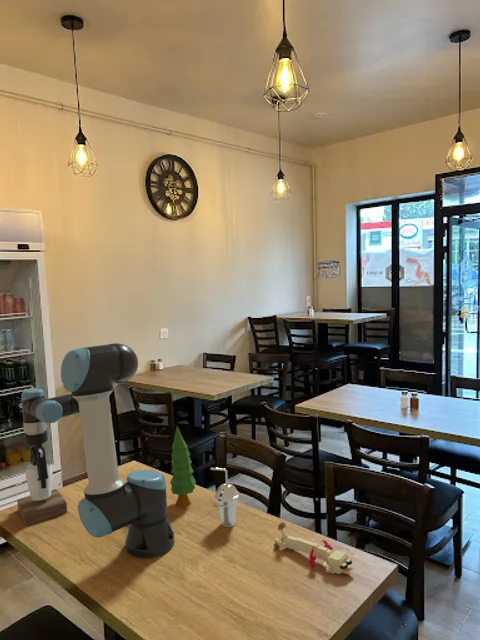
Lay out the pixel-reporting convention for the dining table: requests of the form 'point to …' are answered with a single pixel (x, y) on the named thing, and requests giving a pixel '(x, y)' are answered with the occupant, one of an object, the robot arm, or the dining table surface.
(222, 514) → the cup with straw
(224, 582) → the dining table surface
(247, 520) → the dining table surface
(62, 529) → the dining table surface
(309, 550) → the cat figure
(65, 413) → the robot arm
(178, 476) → the decorative tree
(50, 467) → the cup
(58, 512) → the riser
